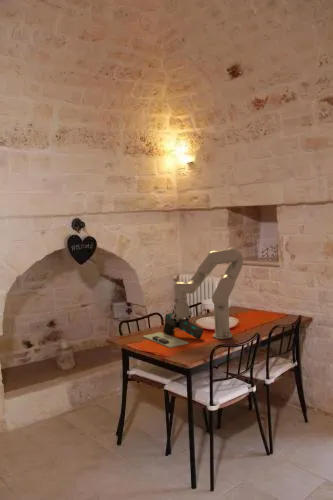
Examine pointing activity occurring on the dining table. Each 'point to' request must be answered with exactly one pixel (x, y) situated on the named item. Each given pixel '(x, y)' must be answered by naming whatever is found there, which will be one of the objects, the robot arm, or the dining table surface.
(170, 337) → the mat
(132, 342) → the dining table surface
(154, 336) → the bound lead
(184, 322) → the gun
